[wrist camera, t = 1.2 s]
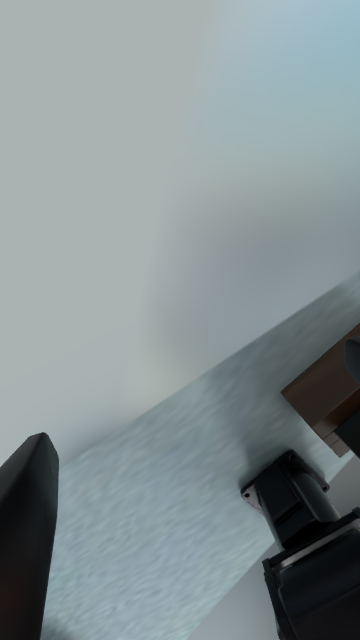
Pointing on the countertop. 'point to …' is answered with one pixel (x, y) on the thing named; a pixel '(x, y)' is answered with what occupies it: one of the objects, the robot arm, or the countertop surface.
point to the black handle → (351, 432)
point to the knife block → (326, 395)
